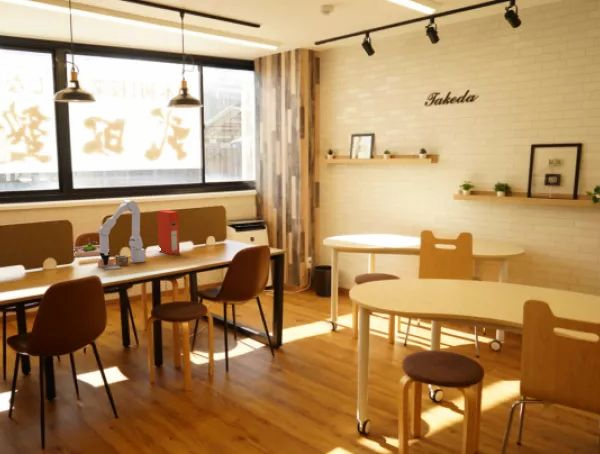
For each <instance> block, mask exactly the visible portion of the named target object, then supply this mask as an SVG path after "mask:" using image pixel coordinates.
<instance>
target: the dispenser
mask: <svg viewBox="0 0 600 454" xmlns="http://www.w3.org/2000/svg"><path fill="white" fill-rule="evenodd" d="M115 265H119V266H120V267H121V265H122V266H129V256H128V255H127V254H126V255H118V254H115Z"/></svg>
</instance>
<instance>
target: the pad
mask: <svg viewBox="0 0 600 454" xmlns="http://www.w3.org/2000/svg"><path fill="white" fill-rule="evenodd" d="M102 268H103V270H104V271H112V269H114V270H122V267H121V266H119V265H117V264H114V265H113V266H103V267H102Z"/></svg>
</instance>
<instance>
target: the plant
mask: <svg viewBox="0 0 600 454" xmlns="http://www.w3.org/2000/svg"><path fill="white" fill-rule="evenodd" d="M87 241H88V244H86V245H82V247H83V246H84V247H85V249H78V250H77V251H76V253H78V252H91V251H100V248H99V247H97V245H98V242H97V241H92V242H91V240H90V238H89V237H88V238H87ZM94 244H95V245H94ZM86 246H87V247H86Z"/></svg>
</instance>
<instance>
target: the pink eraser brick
mask: <svg viewBox="0 0 600 454" xmlns="http://www.w3.org/2000/svg"><path fill="white" fill-rule="evenodd" d="M113 265H115V260H114V258H113V257H109V260H108V265H104V262H103V259H102V258H98V259H97V267H98V268H103V266H113Z"/></svg>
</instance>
